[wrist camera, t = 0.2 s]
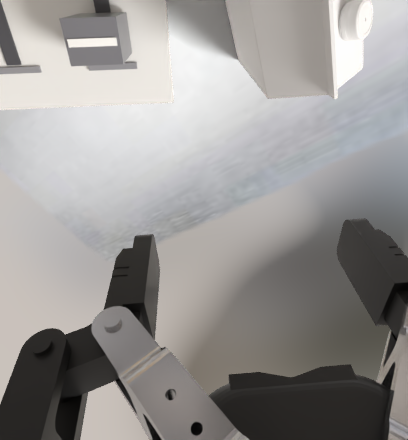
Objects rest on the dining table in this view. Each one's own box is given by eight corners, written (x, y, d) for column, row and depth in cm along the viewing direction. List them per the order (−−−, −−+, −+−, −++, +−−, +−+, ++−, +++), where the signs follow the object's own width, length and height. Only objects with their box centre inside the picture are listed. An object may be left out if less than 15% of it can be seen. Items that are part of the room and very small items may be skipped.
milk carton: (238, 61, 36) (280, 116, 21) (221, -14, 32) (259, -15, 16) (301, 39, 35) (394, 80, 20) (292, -41, 31) (402, -68, 15)
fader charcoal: (78, 13, 30) (58, 18, 25) (126, 11, 30) (115, 16, 25) (87, 54, 32) (70, 66, 27) (132, 52, 32) (123, 64, 28)
